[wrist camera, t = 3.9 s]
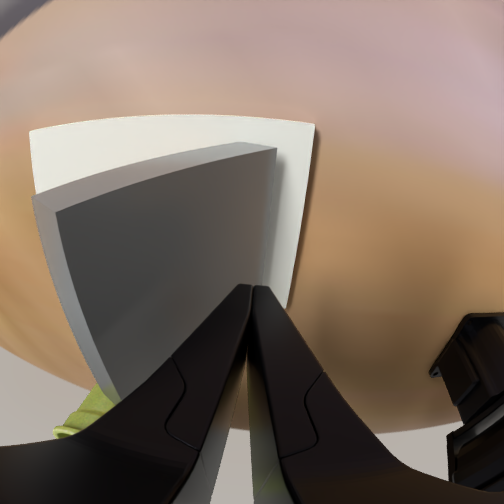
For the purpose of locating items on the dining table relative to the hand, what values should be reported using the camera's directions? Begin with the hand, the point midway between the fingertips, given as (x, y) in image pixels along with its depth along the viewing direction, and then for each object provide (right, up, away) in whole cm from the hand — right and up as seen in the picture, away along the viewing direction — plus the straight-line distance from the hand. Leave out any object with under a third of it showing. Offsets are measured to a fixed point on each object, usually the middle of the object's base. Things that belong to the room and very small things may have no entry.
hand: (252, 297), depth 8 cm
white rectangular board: (-5, +3, +5) cm, 8 cm away
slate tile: (0, +2, +4) cm, 5 cm away
